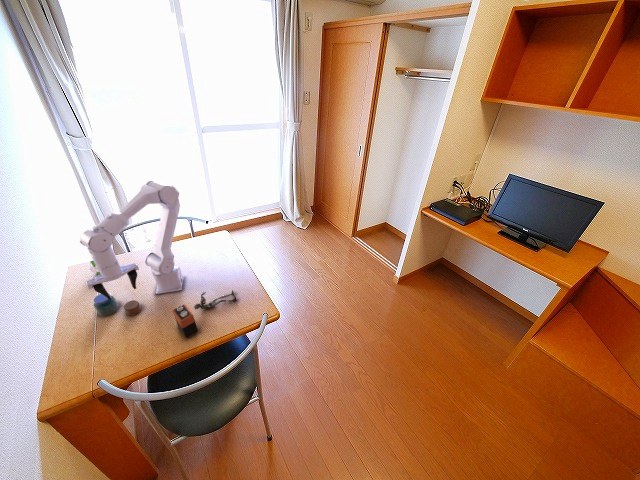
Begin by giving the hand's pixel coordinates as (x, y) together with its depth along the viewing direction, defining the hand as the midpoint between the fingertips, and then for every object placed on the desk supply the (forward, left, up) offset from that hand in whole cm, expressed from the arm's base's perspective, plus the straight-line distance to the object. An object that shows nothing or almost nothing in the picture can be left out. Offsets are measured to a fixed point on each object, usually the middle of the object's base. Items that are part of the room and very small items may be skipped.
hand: (122, 292), depth 94 cm
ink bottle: (+8, -2, -9) cm, 12 cm away
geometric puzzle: (+17, -26, -9) cm, 33 cm away
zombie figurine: (-30, +5, -9) cm, 32 cm away
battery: (-21, +15, -9) cm, 27 cm away
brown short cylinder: (-1, +1, -9) cm, 9 cm away
